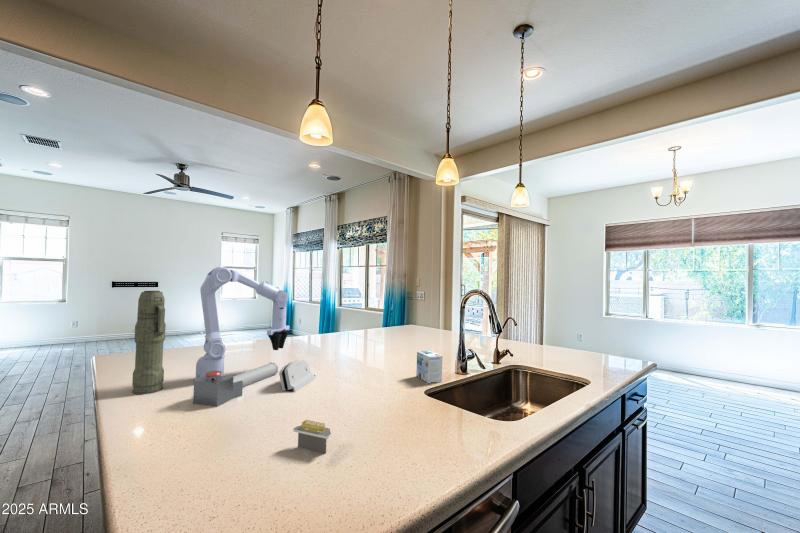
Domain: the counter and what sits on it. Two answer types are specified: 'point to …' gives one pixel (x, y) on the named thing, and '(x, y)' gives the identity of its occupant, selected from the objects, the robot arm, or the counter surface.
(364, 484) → the counter surface
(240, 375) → the tube
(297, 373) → the white rounded casing
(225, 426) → the counter surface
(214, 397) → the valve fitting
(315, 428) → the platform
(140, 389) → the thermos
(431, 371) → the light bulb box
